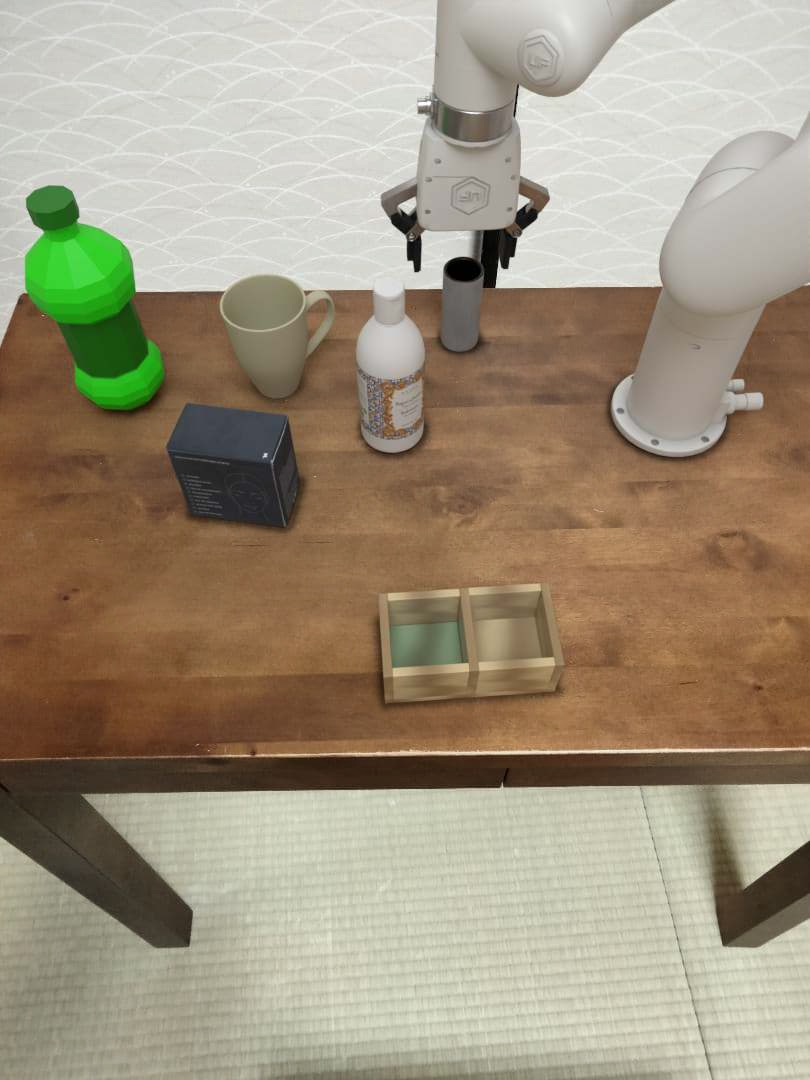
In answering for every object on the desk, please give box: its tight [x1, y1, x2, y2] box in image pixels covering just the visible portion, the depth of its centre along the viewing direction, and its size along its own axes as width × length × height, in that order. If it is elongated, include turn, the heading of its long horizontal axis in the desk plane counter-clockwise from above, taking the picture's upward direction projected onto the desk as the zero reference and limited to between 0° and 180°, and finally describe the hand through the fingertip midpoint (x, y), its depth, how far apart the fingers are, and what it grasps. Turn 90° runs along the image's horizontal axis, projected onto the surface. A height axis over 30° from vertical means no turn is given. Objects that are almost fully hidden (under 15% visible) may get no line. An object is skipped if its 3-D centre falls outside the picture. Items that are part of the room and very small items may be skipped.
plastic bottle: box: [24, 185, 165, 411], centre depth 84 cm, size 10×10×25 cm
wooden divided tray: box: [377, 582, 565, 704], centre depth 73 cm, size 15×8×6 cm, turn 94°
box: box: [165, 402, 301, 528], centre depth 82 cm, size 11×7×10 cm, turn 80°
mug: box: [219, 273, 336, 400], centre depth 90 cm, size 11×10×12 cm
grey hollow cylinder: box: [440, 256, 485, 353], centre depth 95 cm, size 4×4×10 cm
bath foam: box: [355, 275, 426, 454], centre depth 83 cm, size 7×7×20 cm
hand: (459, 262), depth 90 cm, fingers open, 9 cm apart
